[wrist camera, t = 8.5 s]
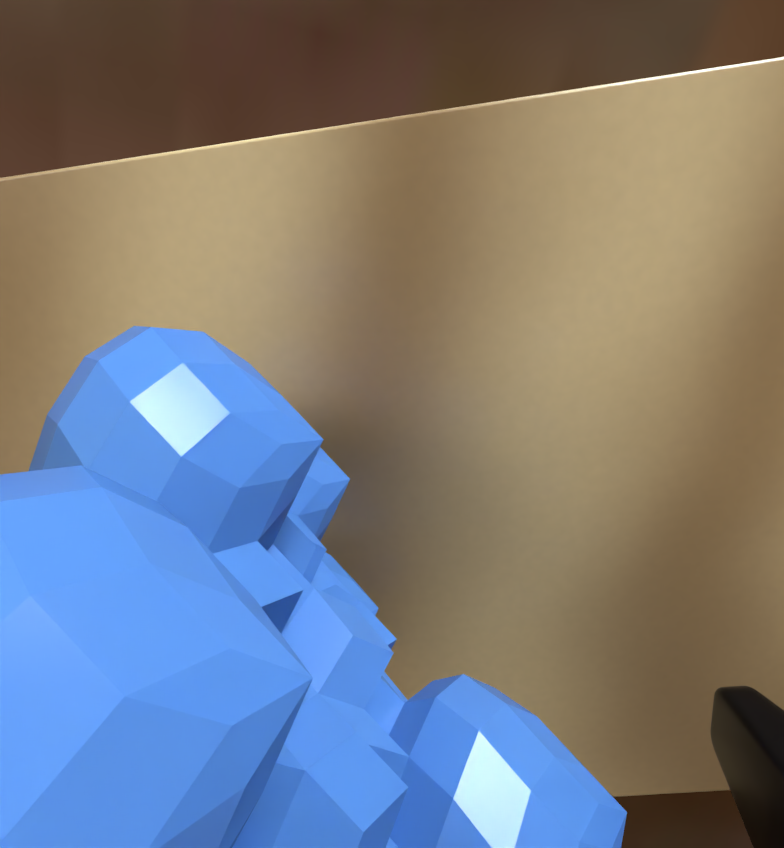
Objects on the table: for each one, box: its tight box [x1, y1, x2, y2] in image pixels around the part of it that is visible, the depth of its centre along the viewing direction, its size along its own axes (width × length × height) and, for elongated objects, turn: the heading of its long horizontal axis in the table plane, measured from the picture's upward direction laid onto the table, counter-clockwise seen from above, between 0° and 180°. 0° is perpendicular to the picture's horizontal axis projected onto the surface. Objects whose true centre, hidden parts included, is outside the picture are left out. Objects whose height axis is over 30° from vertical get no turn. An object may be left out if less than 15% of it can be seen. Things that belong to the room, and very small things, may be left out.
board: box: [0, 57, 784, 797], centre depth 12 cm, size 20×16×2 cm
